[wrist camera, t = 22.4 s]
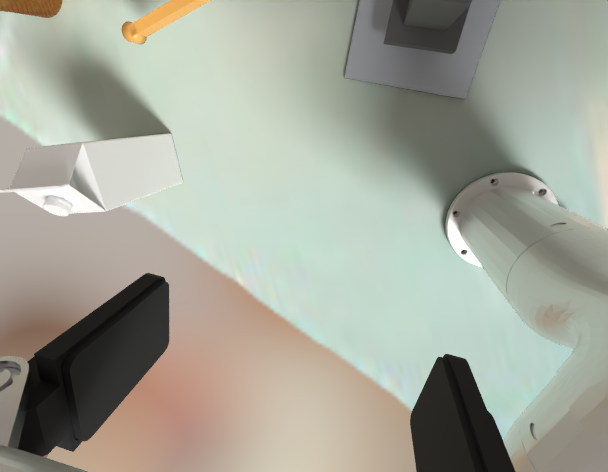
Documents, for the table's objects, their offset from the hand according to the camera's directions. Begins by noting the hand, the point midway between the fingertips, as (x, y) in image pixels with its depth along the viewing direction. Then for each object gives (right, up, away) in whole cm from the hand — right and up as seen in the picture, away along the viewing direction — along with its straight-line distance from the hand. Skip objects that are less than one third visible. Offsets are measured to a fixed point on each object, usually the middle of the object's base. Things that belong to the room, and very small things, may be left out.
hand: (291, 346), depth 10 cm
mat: (+13, +27, +23) cm, 38 cm away
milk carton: (-21, +15, +35) cm, 44 cm away
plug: (+13, +27, +22) cm, 37 cm away
